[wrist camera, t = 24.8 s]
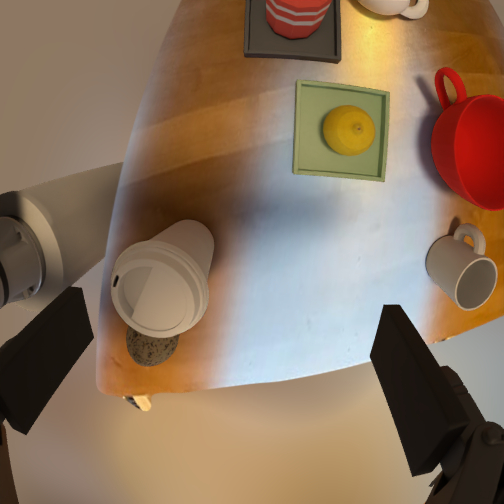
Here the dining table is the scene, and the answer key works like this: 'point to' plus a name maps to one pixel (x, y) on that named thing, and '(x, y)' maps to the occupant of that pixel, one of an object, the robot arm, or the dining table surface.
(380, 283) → the dining table surface
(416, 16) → the mug
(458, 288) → the cup
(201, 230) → the coffee cup
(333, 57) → the charcoal tray
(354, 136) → the fruit
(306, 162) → the green tray
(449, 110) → the ceramic cup
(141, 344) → the decorative egg
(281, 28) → the beverage can
